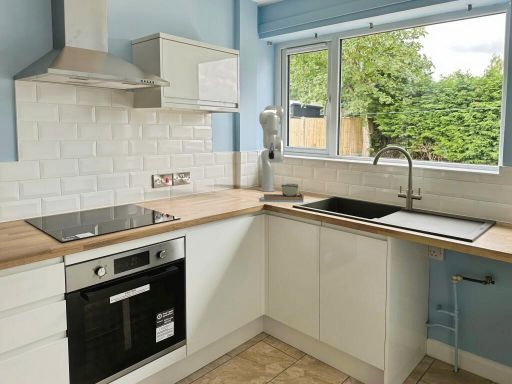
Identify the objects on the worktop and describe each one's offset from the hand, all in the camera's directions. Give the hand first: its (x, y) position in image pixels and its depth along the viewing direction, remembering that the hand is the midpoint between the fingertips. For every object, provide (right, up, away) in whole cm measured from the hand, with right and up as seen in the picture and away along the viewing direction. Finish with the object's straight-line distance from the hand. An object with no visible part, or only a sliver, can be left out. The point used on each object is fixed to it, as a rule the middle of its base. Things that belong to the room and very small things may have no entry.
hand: (271, 158), depth 283 cm
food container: (+13, -28, +1) cm, 31 cm away
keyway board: (+7, -29, 0) cm, 30 cm away
